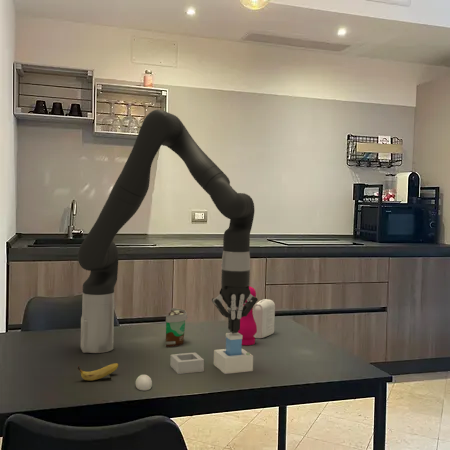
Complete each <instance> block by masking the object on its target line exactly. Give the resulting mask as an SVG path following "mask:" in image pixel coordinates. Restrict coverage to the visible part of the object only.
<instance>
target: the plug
mask: <svg viewBox="0 0 450 450" xmlns="http://www.w3.org/2000/svg"><path fill="white" fill-rule="evenodd" d="M242 347H243V345H242V335H241V334H239V333H231V332H225V349H226V354H227V355H228V356H234V355H241V352H242V349H243V348H242Z"/></svg>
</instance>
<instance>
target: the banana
mask: <svg viewBox="0 0 450 450" xmlns="http://www.w3.org/2000/svg"><path fill="white" fill-rule="evenodd" d="M119 366H120V365H119V362H118V363H116V362H115V363H111V364H109V365H108V364H107V365H105V366H104V367H102V368H99V369H95V370H92V371H91V370H90V371H84V370H82V369H81V368H80V365H77V370H78V371H79V373H80V376H81V378H82V380H84V381H97V380H101V379H102V378H106V376H109V375H111V374H112V373H114V372H115V371H116V370H117V369H118V367H119Z"/></svg>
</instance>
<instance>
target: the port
mask: <svg viewBox="0 0 450 450" xmlns="http://www.w3.org/2000/svg"><path fill="white" fill-rule="evenodd" d="M213 366H215V367H216V368H217V369H218V370H219V371H221V373H223V374H224V375H226V374H236V373H246V372H253V371H254V355H253V354H251V352H249V351H246V350H245V349H243V348H242V352H241V355H234V356H228V355H227V354H226V348H222V349H221V348H220V349H214V350H213Z"/></svg>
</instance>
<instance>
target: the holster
mask: <svg viewBox="0 0 450 450" xmlns="http://www.w3.org/2000/svg"><path fill="white" fill-rule="evenodd" d="M169 361H170V362H169V363H170V367H171V369H172V370H173V371H174V372H175V373H177V375H182V374H191V373H192V374H193V373H200V372H201V373H202V372H205V370H204V369H205V359H204V358H202V357H201V356H200V355H199V354H198V353H197V352H184V353H175V354H170V360H169Z"/></svg>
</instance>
